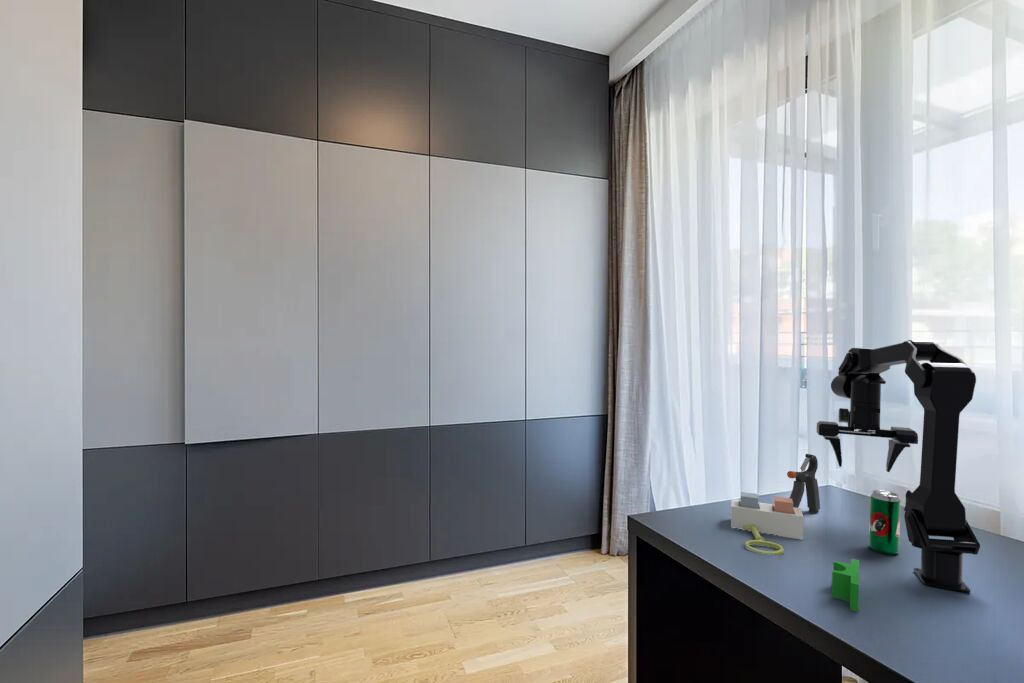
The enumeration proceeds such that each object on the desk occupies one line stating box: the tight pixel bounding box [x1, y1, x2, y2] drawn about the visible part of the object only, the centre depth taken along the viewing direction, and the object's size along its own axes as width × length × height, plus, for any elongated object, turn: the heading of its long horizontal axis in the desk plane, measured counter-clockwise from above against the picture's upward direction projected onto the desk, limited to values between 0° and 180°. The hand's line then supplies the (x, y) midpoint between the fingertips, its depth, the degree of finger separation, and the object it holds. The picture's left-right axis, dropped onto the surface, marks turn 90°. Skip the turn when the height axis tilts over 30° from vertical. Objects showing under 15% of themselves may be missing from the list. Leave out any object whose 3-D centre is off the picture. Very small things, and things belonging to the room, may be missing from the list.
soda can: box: [868, 489, 902, 556], centre depth 105 cm, size 5×5×12 cm
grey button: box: [740, 491, 759, 509], centre depth 117 cm, size 4×4×5 cm
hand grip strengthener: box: [786, 453, 821, 514], centre depth 125 cm, size 2×12×15 cm, turn 118°
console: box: [730, 498, 804, 541], centre depth 115 cm, size 6×14×5 cm, turn 66°
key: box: [743, 525, 785, 556], centre depth 107 cm, size 7×12×2 cm, turn 6°
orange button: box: [773, 495, 793, 514], centre depth 114 cm, size 4×4×5 cm
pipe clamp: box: [831, 558, 860, 613], centre depth 86 cm, size 11×4×5 cm, turn 145°
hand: (863, 469), depth 117 cm, fingers open, 9 cm apart
